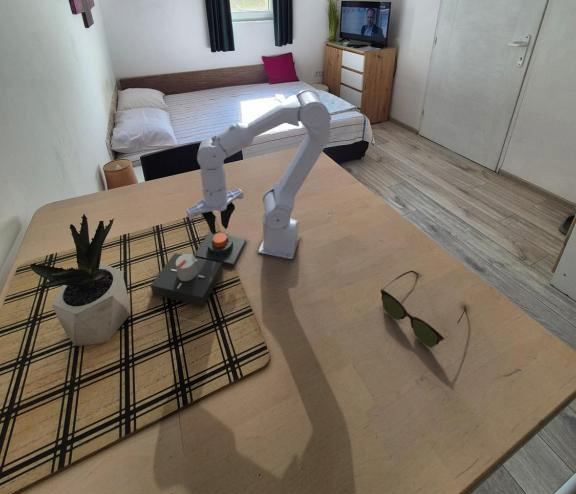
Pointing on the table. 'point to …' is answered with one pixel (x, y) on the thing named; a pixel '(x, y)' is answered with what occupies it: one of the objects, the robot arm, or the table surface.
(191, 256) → the timer dial
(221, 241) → the button
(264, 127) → the robot arm
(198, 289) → the dial panel
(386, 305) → the sunglasses
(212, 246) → the button block
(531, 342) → the table surface
